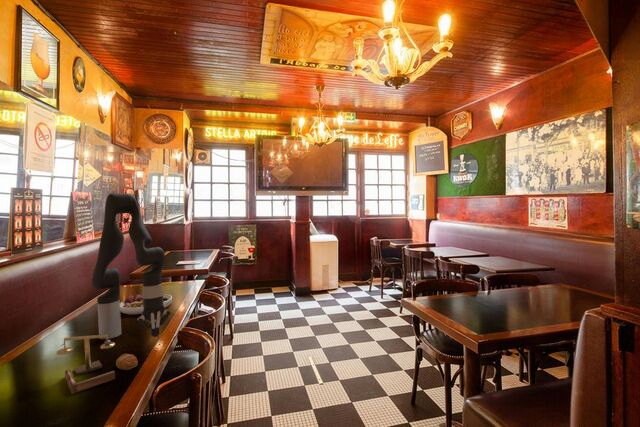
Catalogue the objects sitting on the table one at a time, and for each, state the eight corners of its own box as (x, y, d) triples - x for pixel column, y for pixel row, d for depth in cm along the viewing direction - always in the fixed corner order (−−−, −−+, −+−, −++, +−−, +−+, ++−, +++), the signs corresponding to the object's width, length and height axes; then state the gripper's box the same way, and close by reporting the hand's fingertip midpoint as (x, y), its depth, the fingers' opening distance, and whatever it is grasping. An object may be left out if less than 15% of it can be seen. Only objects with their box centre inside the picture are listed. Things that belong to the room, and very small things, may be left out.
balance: (58, 381, 117) (56, 342, 116) (57, 375, 121) (54, 338, 121) (117, 362, 130) (115, 327, 129) (114, 358, 134) (112, 324, 134)
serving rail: (65, 377, 120) (64, 369, 119) (105, 364, 128) (105, 356, 128) (71, 393, 108) (71, 384, 108) (115, 378, 117) (114, 370, 117)
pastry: (142, 365, 127) (142, 356, 127) (124, 373, 121) (123, 363, 121) (131, 359, 132) (131, 350, 132) (113, 367, 127) (113, 357, 127)
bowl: (181, 301, 216) (181, 289, 215) (151, 316, 186) (150, 303, 186) (142, 300, 221) (141, 289, 221) (106, 315, 191) (105, 302, 191)
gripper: (166, 290, 141) (168, 329, 141) (132, 297, 132) (135, 339, 132) (172, 293, 136) (174, 333, 136) (138, 300, 126) (140, 344, 127)
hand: (155, 336), depth 134 cm, fingers closed
